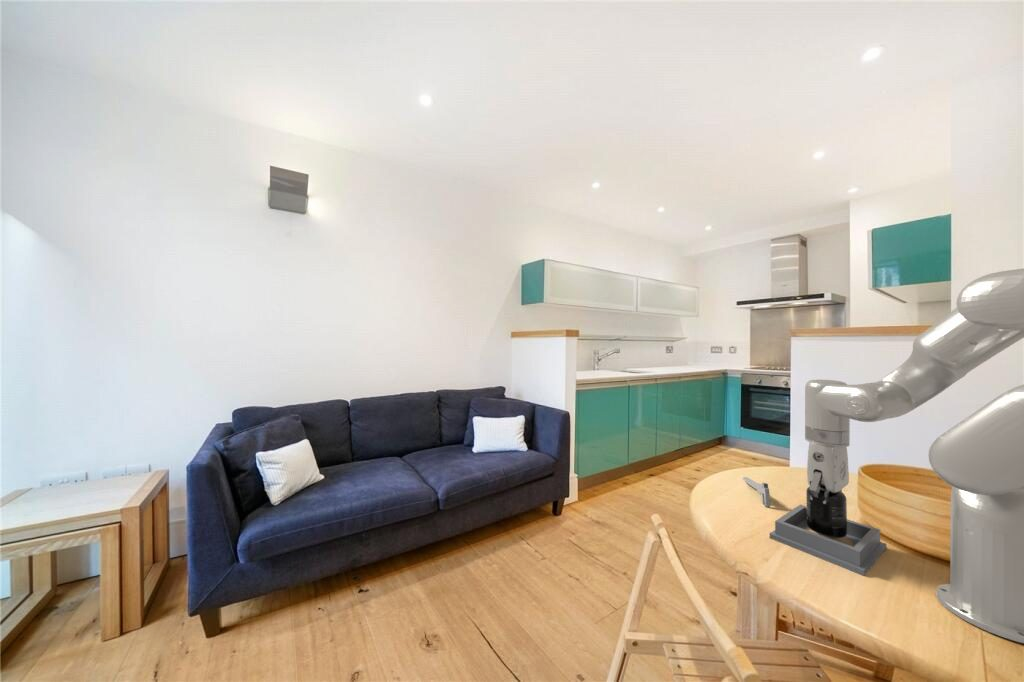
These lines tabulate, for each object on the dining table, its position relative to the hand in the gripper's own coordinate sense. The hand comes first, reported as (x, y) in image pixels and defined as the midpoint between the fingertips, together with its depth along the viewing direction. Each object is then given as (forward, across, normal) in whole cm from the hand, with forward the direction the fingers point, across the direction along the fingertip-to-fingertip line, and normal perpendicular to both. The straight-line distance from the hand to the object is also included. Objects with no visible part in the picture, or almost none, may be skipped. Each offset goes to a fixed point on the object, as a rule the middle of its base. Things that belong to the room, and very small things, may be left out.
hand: (826, 514), depth 81 cm
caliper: (+7, +16, +21) cm, 27 cm away
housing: (+7, 0, 0) cm, 7 cm away
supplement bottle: (+4, 0, 0) cm, 4 cm away
